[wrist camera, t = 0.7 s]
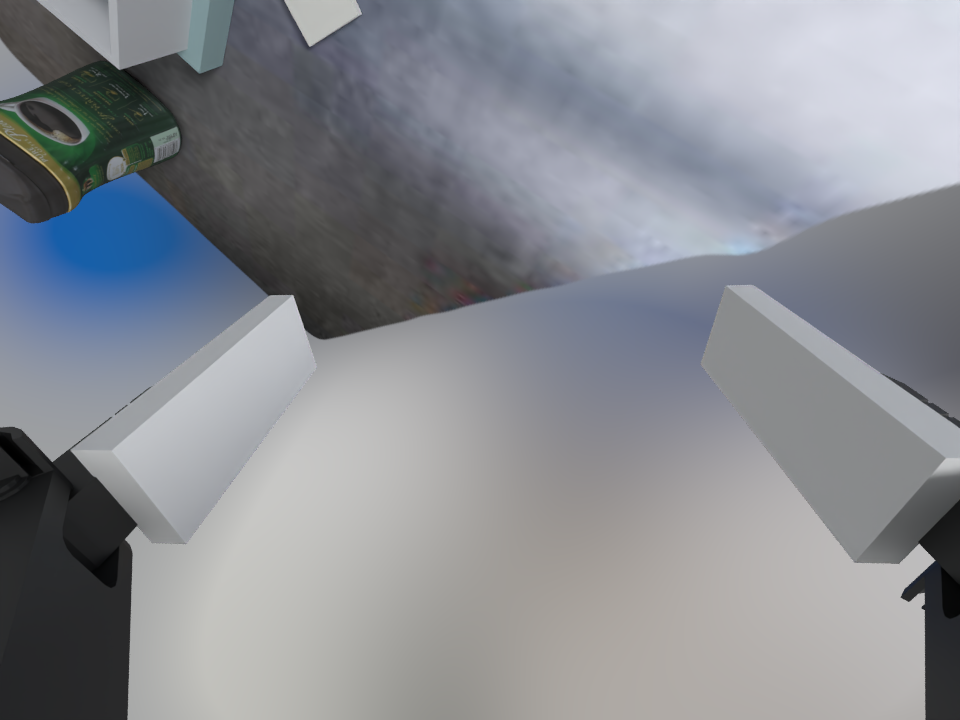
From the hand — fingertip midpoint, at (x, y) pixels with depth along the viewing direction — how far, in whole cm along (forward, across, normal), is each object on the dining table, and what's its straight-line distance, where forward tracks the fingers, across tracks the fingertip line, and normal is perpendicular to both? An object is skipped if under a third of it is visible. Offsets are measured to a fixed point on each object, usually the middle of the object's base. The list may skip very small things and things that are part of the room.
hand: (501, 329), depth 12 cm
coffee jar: (+41, -42, +8) cm, 59 cm away
